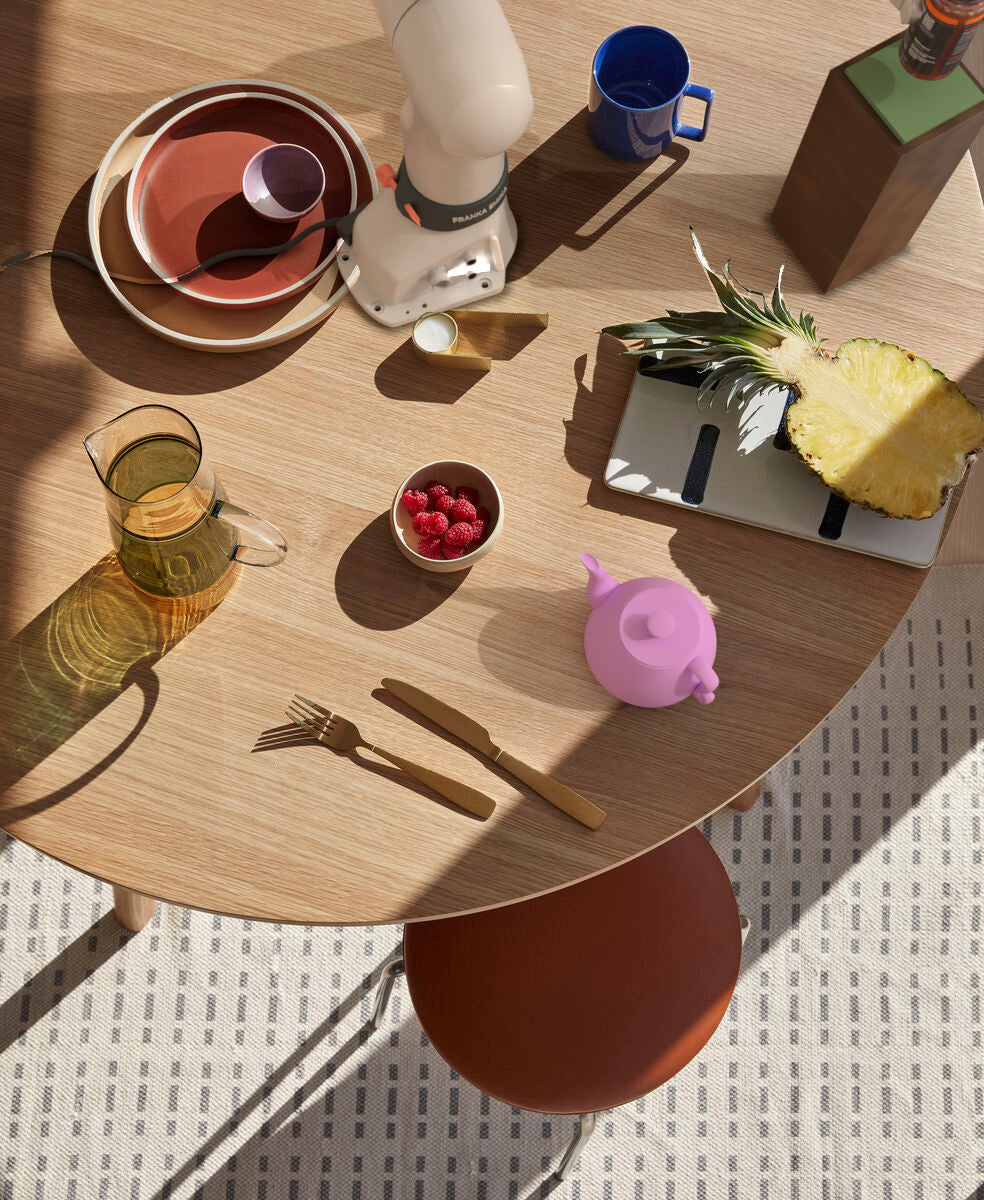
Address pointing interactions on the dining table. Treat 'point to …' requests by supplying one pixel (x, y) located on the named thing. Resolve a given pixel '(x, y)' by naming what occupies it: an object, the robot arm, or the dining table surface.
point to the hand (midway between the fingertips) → (952, 19)
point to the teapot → (648, 639)
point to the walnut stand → (863, 180)
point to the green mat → (910, 93)
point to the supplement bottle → (940, 37)
